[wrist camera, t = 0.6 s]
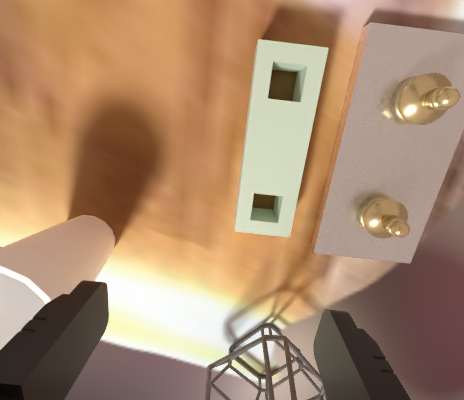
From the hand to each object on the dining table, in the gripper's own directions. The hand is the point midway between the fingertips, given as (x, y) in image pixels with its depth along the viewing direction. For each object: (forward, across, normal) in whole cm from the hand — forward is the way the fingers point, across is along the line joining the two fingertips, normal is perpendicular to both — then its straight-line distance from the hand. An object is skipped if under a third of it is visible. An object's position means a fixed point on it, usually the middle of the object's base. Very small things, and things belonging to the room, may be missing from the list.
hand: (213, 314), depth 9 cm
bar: (+21, -4, -4) cm, 22 cm away
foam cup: (+21, +17, +10) cm, 29 cm away
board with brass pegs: (+21, -17, -4) cm, 27 cm away
